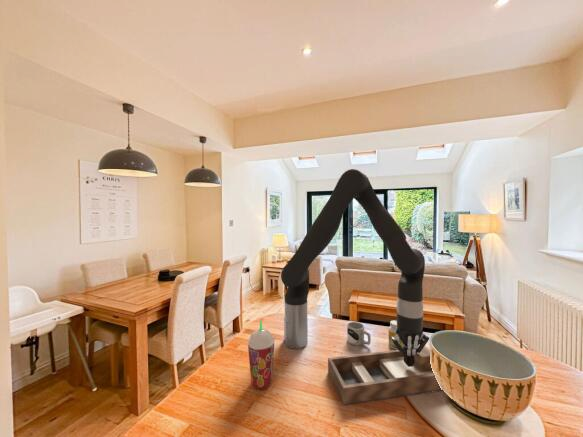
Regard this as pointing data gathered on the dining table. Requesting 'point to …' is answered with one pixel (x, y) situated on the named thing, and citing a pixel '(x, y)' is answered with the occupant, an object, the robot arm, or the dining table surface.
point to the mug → (357, 334)
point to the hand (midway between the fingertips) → (408, 365)
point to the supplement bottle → (393, 333)
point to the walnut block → (423, 360)
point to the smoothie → (261, 357)
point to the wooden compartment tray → (377, 377)
